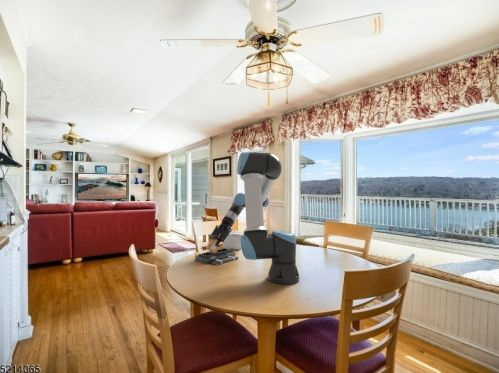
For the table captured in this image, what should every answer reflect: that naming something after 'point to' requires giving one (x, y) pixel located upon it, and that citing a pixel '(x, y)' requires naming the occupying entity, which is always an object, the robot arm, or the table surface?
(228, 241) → the cable organizer
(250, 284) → the table surface
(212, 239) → the breaker toggle
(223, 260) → the cord bundle
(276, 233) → the robot arm
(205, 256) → the breaker panel
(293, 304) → the table surface
